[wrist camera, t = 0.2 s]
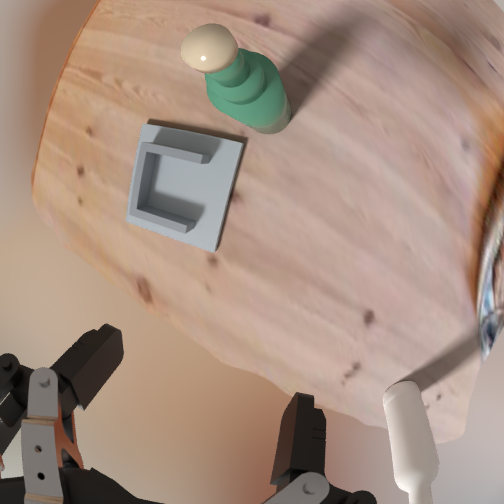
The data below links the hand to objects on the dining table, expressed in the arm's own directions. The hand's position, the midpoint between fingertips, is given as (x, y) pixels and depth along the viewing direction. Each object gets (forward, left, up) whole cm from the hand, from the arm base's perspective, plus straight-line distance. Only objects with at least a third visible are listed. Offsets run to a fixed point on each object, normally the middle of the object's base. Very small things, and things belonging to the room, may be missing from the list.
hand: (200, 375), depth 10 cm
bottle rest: (-1, -15, -29) cm, 32 cm away
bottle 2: (+24, +35, -29) cm, 51 cm away
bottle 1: (-14, -5, -29) cm, 32 cm away
